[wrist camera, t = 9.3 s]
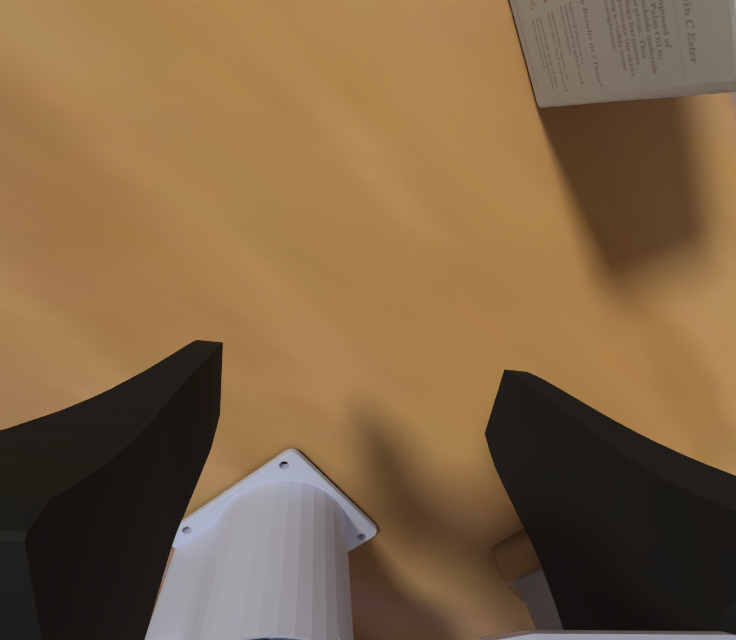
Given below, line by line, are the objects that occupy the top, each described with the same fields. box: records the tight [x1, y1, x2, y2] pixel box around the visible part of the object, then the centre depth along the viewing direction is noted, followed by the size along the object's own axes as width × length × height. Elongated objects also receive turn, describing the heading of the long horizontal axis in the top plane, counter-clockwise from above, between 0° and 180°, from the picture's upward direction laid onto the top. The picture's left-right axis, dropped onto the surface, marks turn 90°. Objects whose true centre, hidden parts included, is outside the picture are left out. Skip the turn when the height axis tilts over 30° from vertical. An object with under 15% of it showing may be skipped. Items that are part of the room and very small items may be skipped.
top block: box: [516, 569, 562, 630], centre depth 26 cm, size 5×5×3 cm
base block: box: [492, 528, 542, 604], centre depth 29 cm, size 6×6×3 cm
